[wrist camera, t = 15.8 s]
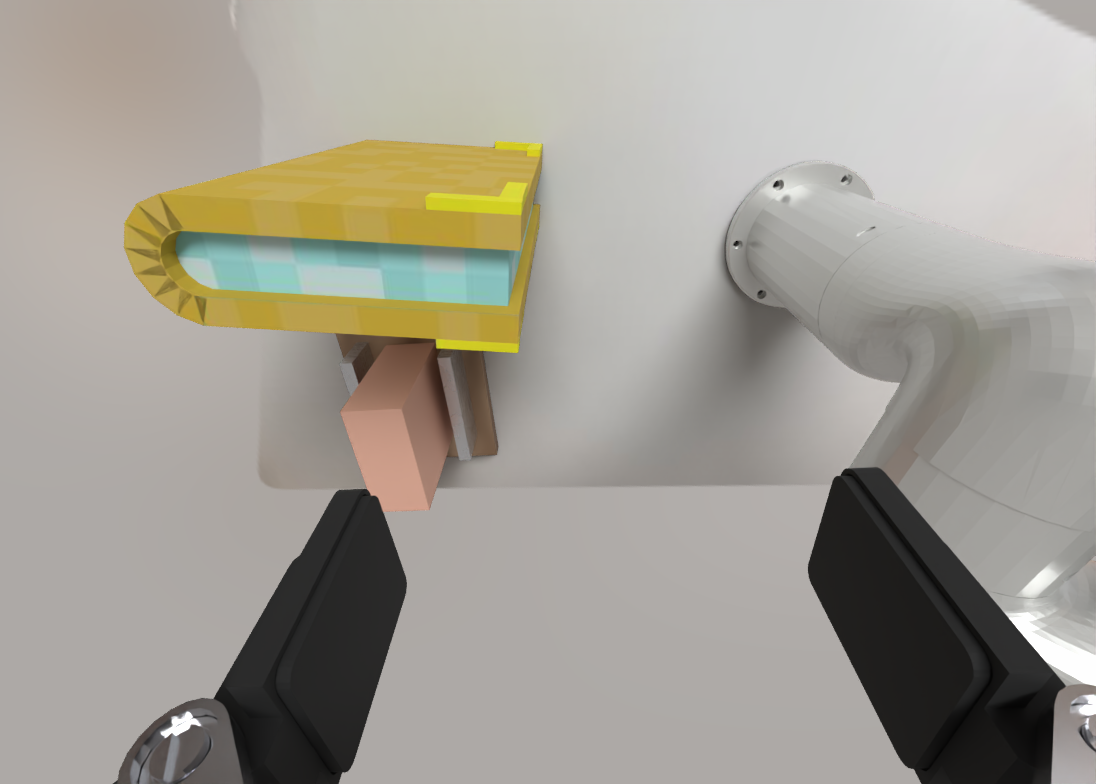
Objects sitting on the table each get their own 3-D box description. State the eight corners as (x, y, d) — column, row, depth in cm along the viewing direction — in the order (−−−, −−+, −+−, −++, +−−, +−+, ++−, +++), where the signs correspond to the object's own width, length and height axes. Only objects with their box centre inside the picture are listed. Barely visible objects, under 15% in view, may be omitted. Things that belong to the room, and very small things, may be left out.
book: (542, 144, 41) (521, 202, 20) (539, 226, 45) (518, 352, 23) (338, 131, 41) (96, 177, 20) (351, 215, 44) (157, 332, 23)
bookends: (458, 336, 49) (449, 357, 45) (477, 434, 55) (470, 460, 51) (356, 342, 49) (339, 363, 46) (386, 438, 56) (373, 464, 52)
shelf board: (474, 300, 48) (471, 306, 47) (498, 446, 58) (496, 454, 56) (335, 310, 49) (329, 315, 48) (381, 452, 59) (377, 460, 57)
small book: (434, 342, 49) (401, 408, 39) (454, 431, 55) (429, 510, 45) (385, 345, 49) (339, 411, 39) (410, 433, 55) (375, 512, 45)
